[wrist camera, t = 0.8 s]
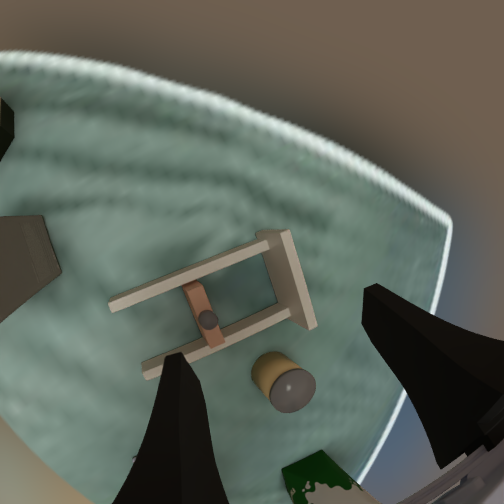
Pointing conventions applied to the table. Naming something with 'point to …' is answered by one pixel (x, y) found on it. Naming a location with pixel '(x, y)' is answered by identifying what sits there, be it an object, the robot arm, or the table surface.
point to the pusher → (203, 313)
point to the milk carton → (323, 483)
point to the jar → (283, 382)
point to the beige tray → (289, 306)
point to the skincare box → (24, 261)
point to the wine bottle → (6, 127)
